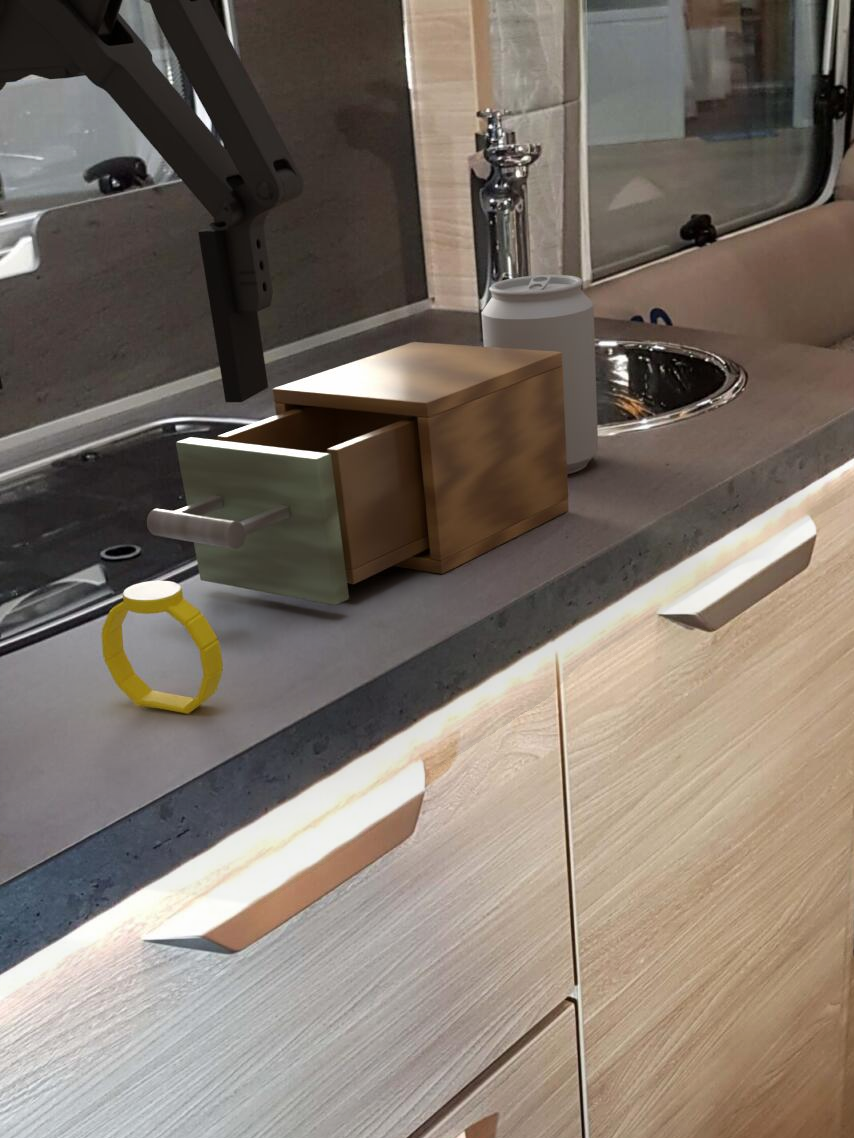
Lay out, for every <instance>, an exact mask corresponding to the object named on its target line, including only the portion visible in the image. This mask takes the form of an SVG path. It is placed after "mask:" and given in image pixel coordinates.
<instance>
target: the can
mask: <svg viewBox="0 0 854 1138" xmlns="http://www.w3.org/2000/svg"><path fill="white" fill-rule="evenodd" d="M583 285H584V280H583V279H582V278H580V276H579V277H578V276H574V275H567V274H541V275H528V276H527V275H526V276H520V277H512V278H508V279H504V280H499V281H497V282H494V283H492V284H491V285H490V286H489V289H488V290H489V291H490V293H491V297H490V299H489V301H488V302H487V303H486V305H485V307H484V308H483V309H482V310H481V325H482V340H483V342H482V343H483V347H495V348H510V349H525V350H540V351H555V352H562V366H563V387H564V410H565V433H566V456H567V475H570V474H573V473H576V472H577V473H578V472H579V471H582V470H583V469H585V468H586V467H587V465H588V463H589V462H590V461H591V460H592V459H594V457H595V456H596V455H597V453H598V451H599V431H598V430H599V429H598V403H597V401H598V400H597V399H598V398H597V373H596V371H597V370H596V342H595V341H596V340H595V311H594V309H595V308H594V307H595V306H594V303H593V301H592V300H591V299H590V298H589V297H588V296H587V295H586V294H585V292H584V291H583V290H582V286H583Z"/></svg>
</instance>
